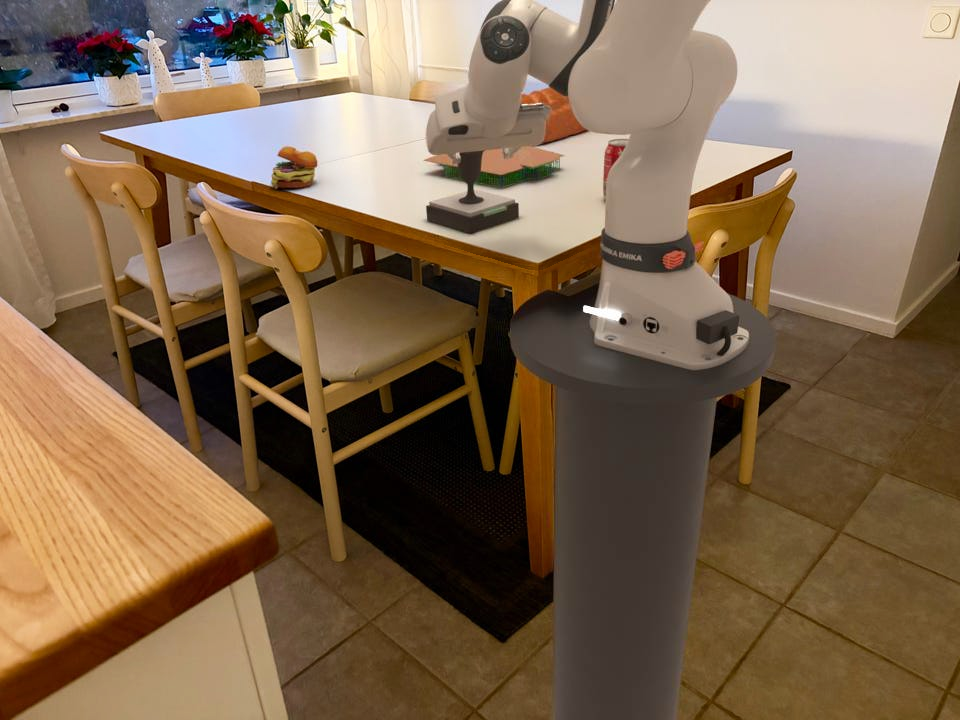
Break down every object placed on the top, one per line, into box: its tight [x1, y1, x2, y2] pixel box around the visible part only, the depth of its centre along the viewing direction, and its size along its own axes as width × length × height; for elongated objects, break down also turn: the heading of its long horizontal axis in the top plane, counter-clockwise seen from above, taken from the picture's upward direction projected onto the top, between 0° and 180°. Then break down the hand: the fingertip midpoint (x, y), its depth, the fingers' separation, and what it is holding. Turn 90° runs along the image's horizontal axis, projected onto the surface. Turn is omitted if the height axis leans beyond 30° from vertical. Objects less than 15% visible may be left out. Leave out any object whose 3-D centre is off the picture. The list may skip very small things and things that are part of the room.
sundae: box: [457, 150, 485, 204], centre depth 142 cm, size 7×7×15 cm
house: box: [423, 146, 565, 189], centre depth 180 cm, size 23×33×8 cm
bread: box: [521, 86, 588, 145], centre depth 215 cm, size 16×31×13 cm, turn 140°
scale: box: [425, 188, 520, 234], centre depth 146 cm, size 13×13×4 cm
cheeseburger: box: [270, 145, 318, 190], centre depth 176 cm, size 10×11×10 cm
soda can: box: [602, 138, 629, 200], centre depth 152 cm, size 7×7×12 cm
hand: (481, 158), depth 131 cm, fingers open, 8 cm apart
